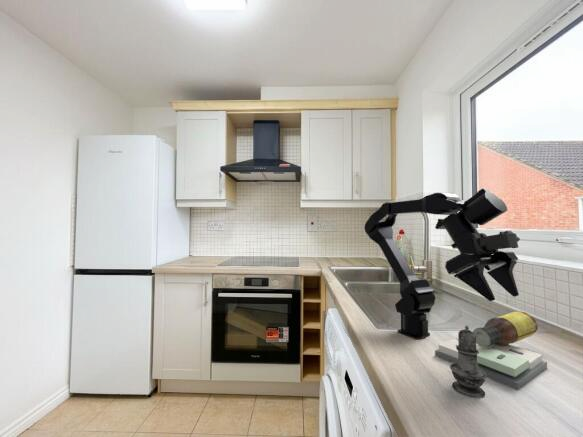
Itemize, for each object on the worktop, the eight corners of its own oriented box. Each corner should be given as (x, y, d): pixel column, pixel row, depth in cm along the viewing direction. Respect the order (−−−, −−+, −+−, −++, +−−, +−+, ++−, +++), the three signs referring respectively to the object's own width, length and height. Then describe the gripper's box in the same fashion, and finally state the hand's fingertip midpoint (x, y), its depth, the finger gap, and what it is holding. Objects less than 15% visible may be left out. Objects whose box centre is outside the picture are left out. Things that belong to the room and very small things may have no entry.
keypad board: (435, 355, 64) (434, 343, 64) (468, 341, 72) (468, 330, 73) (517, 389, 50) (517, 374, 51) (547, 367, 59) (546, 354, 59)
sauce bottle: (513, 306, 72) (470, 315, 63) (542, 319, 67) (500, 331, 58) (507, 327, 73) (463, 339, 65) (534, 342, 68) (491, 357, 59)
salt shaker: (494, 401, 47) (492, 332, 48) (457, 396, 48) (456, 329, 49) (477, 382, 53) (476, 321, 53) (445, 379, 54) (444, 319, 54)
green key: (474, 367, 57) (474, 353, 57) (489, 359, 61) (489, 346, 61) (515, 383, 51) (514, 367, 51) (529, 373, 55) (528, 359, 55)
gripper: (470, 215, 55) (519, 288, 47) (518, 218, 63) (567, 280, 55) (429, 242, 63) (465, 307, 55) (476, 241, 71) (514, 298, 63)
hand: (504, 298), depth 57 cm, fingers open, 9 cm apart
